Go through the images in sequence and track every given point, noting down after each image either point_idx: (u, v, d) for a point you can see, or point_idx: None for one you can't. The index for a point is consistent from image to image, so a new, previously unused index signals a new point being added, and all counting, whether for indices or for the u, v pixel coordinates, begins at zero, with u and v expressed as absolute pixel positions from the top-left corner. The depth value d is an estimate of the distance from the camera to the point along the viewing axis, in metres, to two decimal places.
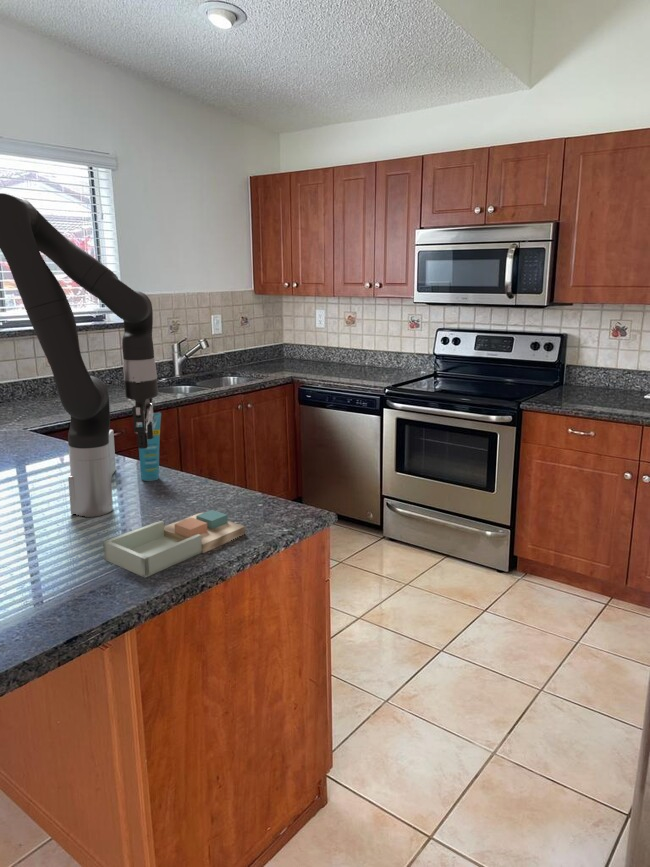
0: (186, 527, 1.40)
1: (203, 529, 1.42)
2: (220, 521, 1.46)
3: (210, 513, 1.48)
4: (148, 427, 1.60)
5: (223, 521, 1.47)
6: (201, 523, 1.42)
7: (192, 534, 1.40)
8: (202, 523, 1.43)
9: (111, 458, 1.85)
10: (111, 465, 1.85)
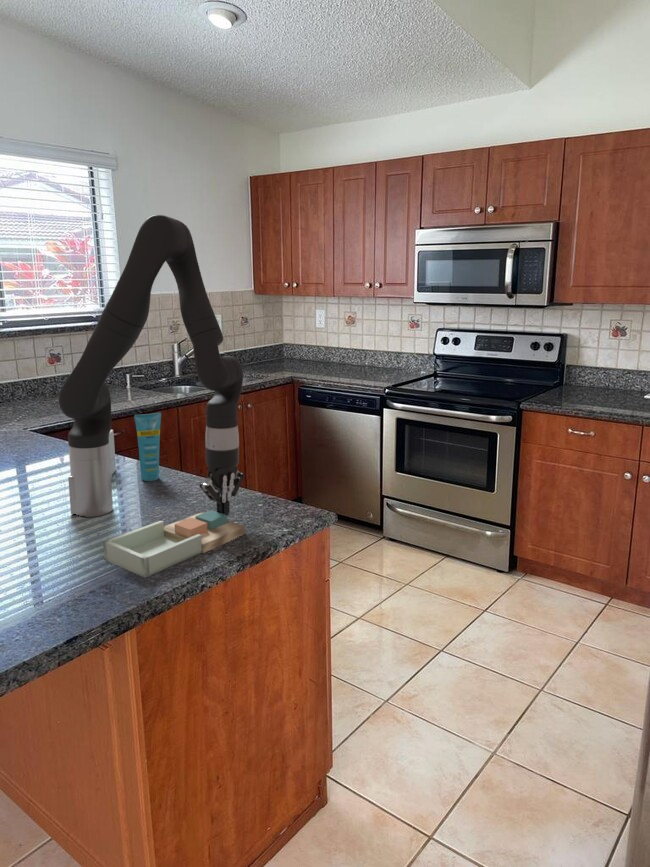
0: (186, 527, 1.40)
1: (203, 529, 1.42)
2: (219, 521, 1.46)
3: (209, 514, 1.48)
4: None
5: (222, 521, 1.47)
6: (201, 523, 1.42)
7: (192, 534, 1.40)
8: (202, 523, 1.43)
9: (111, 458, 1.85)
10: (111, 465, 1.85)
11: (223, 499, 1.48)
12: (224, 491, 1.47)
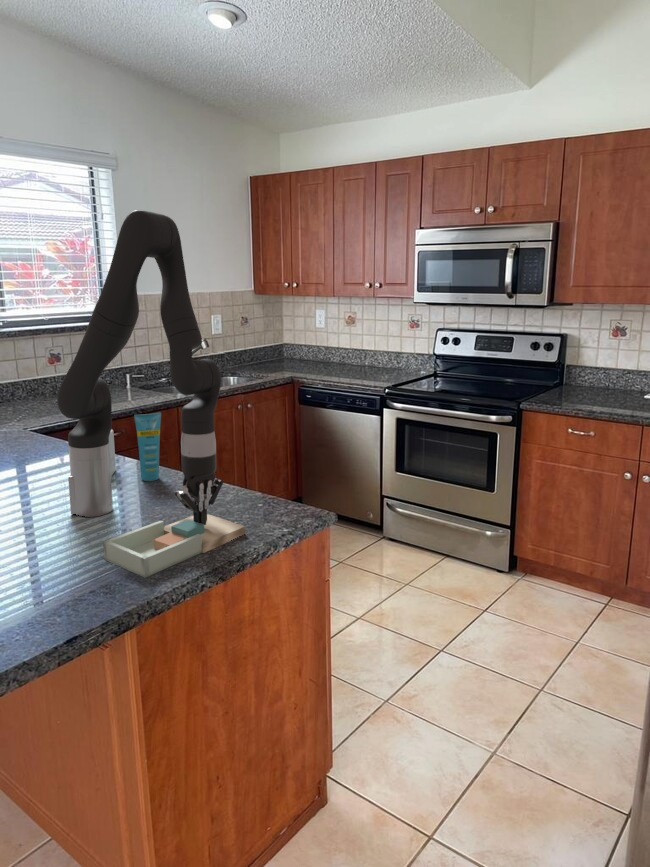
0: (166, 543, 1.35)
1: None
2: (196, 531, 1.40)
3: (185, 523, 1.42)
4: None
5: (200, 531, 1.41)
6: (182, 538, 1.38)
7: None
8: (182, 538, 1.38)
9: (111, 458, 1.85)
10: (111, 465, 1.85)
11: (200, 508, 1.42)
12: (201, 499, 1.41)
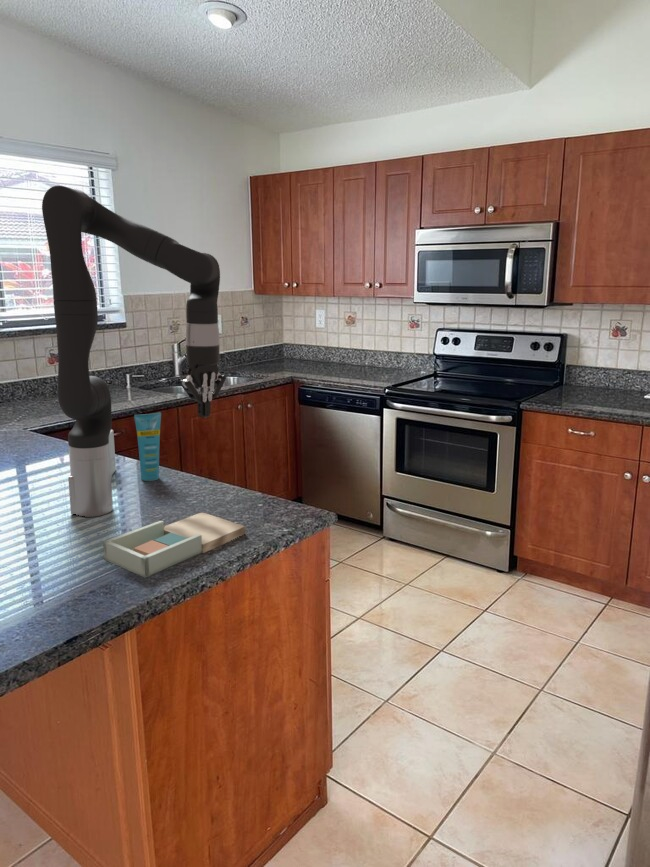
0: (146, 552, 1.31)
1: None
2: None
3: (168, 537, 1.39)
4: None
5: None
6: (163, 547, 1.33)
7: None
8: (163, 546, 1.34)
9: (111, 458, 1.85)
10: (111, 465, 1.85)
11: (204, 398, 1.49)
12: (204, 390, 1.48)
